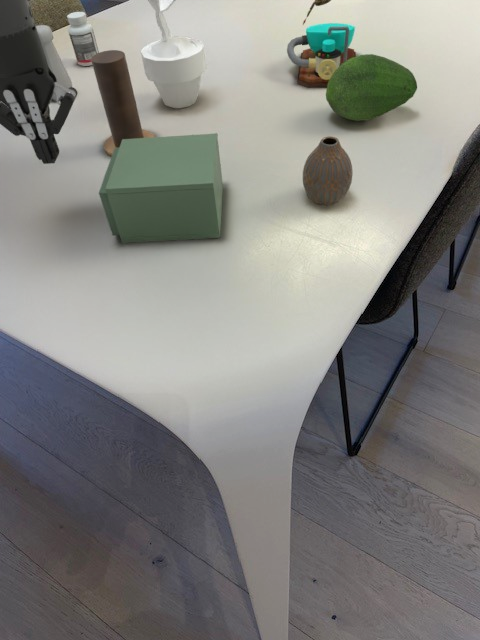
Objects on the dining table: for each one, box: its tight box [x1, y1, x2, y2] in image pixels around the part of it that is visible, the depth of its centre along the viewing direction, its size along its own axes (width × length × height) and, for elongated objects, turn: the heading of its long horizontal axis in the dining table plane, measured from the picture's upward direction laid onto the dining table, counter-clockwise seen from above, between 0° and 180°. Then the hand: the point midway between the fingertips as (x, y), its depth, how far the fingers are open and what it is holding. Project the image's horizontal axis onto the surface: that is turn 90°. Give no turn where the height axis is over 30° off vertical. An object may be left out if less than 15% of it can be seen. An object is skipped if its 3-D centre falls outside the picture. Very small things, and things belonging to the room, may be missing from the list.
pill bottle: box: [66, 11, 100, 67], centre depth 110 cm, size 5×5×10 cm
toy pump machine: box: [286, 0, 357, 88], centre depth 97 cm, size 14×18×15 cm
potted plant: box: [140, 0, 208, 109], centre depth 87 cm, size 13×12×25 cm
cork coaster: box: [103, 129, 156, 157], centre depth 86 cm, size 9×9×1 cm
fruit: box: [325, 53, 418, 121], centre depth 84 cm, size 15×10×10 cm, turn 90°
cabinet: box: [105, 133, 224, 244], centre depth 68 cm, size 14×13×9 cm
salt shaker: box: [36, 24, 73, 102], centre depth 97 cm, size 6×6×13 cm
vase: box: [302, 136, 354, 206], centre depth 69 cm, size 7×7×9 cm
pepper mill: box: [91, 49, 144, 148], centre depth 81 cm, size 5×5×14 cm
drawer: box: [98, 148, 120, 236], centre depth 69 cm, size 14×11×7 cm
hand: (50, 160), depth 69 cm, fingers closed
